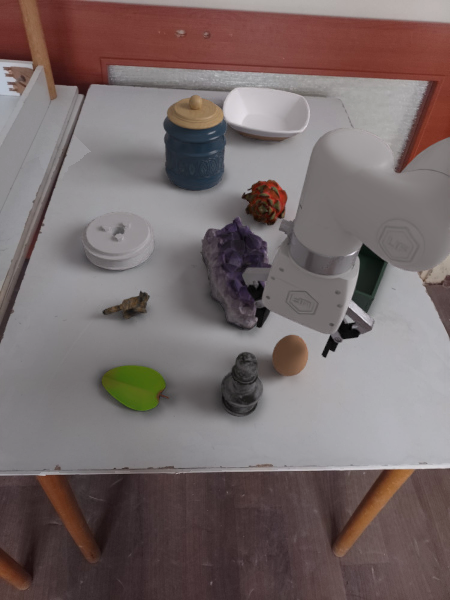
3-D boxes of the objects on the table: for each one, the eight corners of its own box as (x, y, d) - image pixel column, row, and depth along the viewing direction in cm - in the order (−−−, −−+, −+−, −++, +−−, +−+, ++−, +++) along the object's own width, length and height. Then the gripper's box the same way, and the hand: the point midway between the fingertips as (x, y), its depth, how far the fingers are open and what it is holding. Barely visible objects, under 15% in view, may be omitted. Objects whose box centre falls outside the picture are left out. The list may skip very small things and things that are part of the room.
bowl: (227, 102, 122) (229, 83, 118) (306, 112, 121) (310, 93, 117) (215, 144, 108) (216, 124, 104) (305, 156, 107) (309, 136, 103)
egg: (301, 387, 67) (312, 358, 61) (266, 380, 67) (274, 351, 61) (304, 358, 70) (314, 328, 64) (271, 352, 71) (279, 321, 65)
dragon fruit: (263, 243, 89) (255, 212, 98) (301, 221, 86) (289, 191, 95) (240, 213, 84) (234, 183, 93) (280, 189, 81) (269, 160, 90)
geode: (288, 325, 74) (292, 288, 66) (220, 339, 74) (215, 304, 66) (258, 239, 86) (257, 199, 78) (199, 250, 86) (192, 211, 77)
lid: (115, 284, 78) (111, 264, 74) (71, 248, 83) (65, 227, 79) (168, 249, 84) (167, 229, 80) (125, 217, 89) (122, 197, 85)
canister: (212, 197, 95) (216, 118, 81) (155, 183, 97) (150, 103, 84) (231, 165, 103) (237, 88, 90) (179, 152, 105) (177, 75, 92)
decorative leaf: (128, 425, 62) (127, 423, 61) (97, 378, 66) (96, 375, 65) (175, 394, 65) (174, 392, 64) (143, 351, 69) (142, 348, 68)
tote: (386, 263, 85) (393, 248, 82) (366, 314, 77) (373, 299, 74) (316, 237, 89) (320, 221, 86) (289, 283, 80) (293, 267, 77)
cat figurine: (156, 314, 74) (149, 299, 70) (109, 328, 73) (100, 314, 70) (153, 301, 75) (146, 286, 72) (107, 315, 75) (98, 301, 72)
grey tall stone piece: (234, 374, 68) (242, 327, 58) (267, 396, 66) (280, 350, 57) (211, 402, 64) (215, 357, 55) (245, 426, 62) (254, 383, 53)
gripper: (238, 236, 49) (226, 328, 62) (393, 298, 45) (345, 383, 58) (265, 199, 53) (249, 292, 67) (409, 253, 49) (361, 341, 62)
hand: (294, 334), depth 62 cm, fingers open, 9 cm apart
